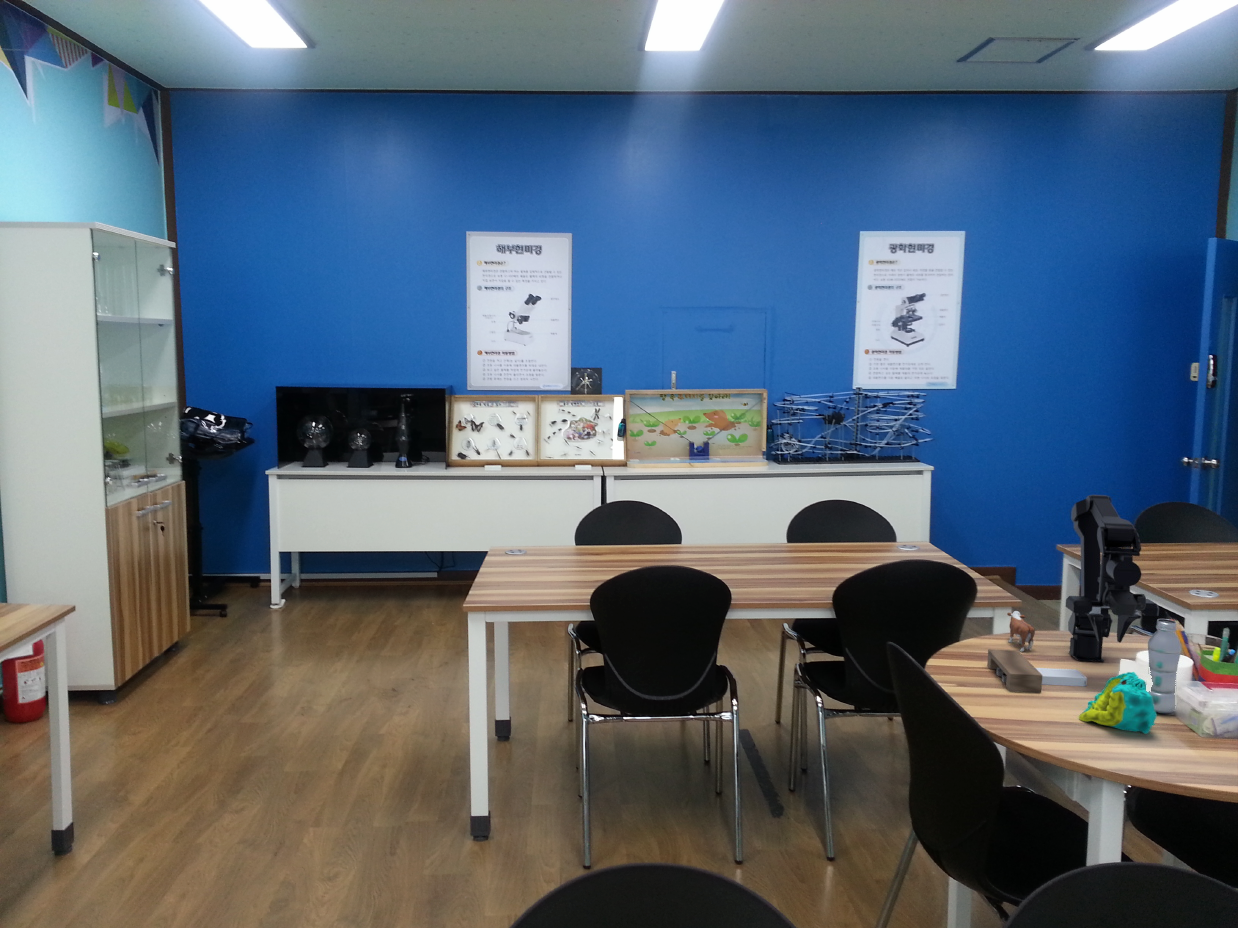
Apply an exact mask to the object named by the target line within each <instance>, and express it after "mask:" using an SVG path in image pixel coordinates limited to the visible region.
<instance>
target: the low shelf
mask: <svg viewBox="0 0 1238 928" xmlns="http://www.w3.org/2000/svg"><path fill="white" fill-rule="evenodd" d="M987 650H988V651H987V667H988V668H989V670H996V675H997V677H1001V681H1002V682H1003V684H1006V685H1005V688H1006V690H1007V691H1008V692H1009V693H1029V694H1030V693H1033V694H1042V687H1043V684H1042V674H1041V673H1040V672H1039V671H1038V670H1037V669H1036V668H1037V667H1035V666H1034V665H1033V664H1032V663H1031V662H1030V661H1029V660H1028V659H1027V658H1026V657H1025V656H1024V655H1023V654H1022V653H1021V652H1020V650H1014V649H1011V650H1010V649H989V648H988V649H987ZM1003 674H1005V675H1003Z"/></svg>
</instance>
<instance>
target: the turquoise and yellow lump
mask: <svg viewBox="0 0 1238 928" xmlns="http://www.w3.org/2000/svg"><path fill="white" fill-rule="evenodd" d="M1146 685H1147V682H1146V681H1145V680H1144V679H1141V677H1139V676H1138V675H1137V674H1136V672H1135V671H1132V672H1130V671H1127V672H1126V673H1125V672H1124V673H1120V674H1118V675H1117V676H1113V677H1110V678H1109V679H1108V680H1107V681H1106V685H1105V686H1104V688H1103V689H1102V690H1101V692H1099V693H1097V694H1096V695H1094V700H1089V701H1088V702H1087V707H1086V708H1085V710H1084V711H1083V712H1082V713H1080V715H1079V716H1078V719H1079V720H1080V721H1081V722H1094V723H1097V725H1102V726H1108V727H1110V728H1115V729H1118V730H1121V731H1122V730H1123V731H1127V732H1129V731H1130V732H1141V733H1143V734H1149V732H1150V730H1151V728H1152V726H1155V722H1156V719H1157V715H1158V714H1157V712H1155V710H1154V705H1153V700H1152V696H1151V695H1150V694H1149V692H1147V691H1146Z"/></svg>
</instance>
